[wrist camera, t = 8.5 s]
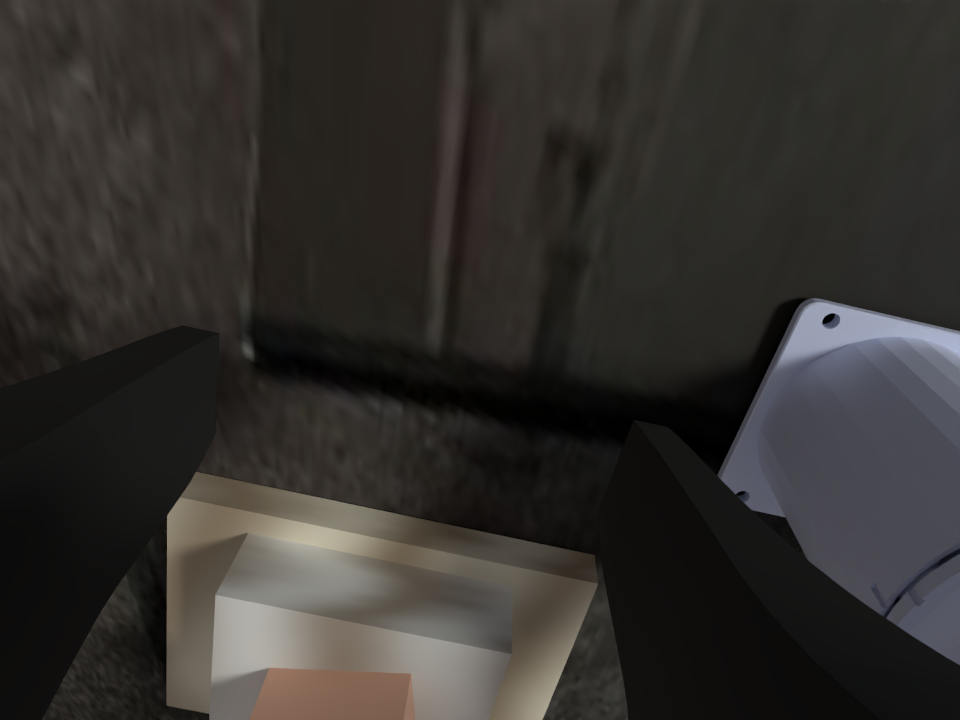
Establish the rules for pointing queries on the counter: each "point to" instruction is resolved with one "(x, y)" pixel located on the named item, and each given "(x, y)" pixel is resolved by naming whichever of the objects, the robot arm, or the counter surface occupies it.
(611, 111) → the counter surface
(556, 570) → the base
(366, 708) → the cube
